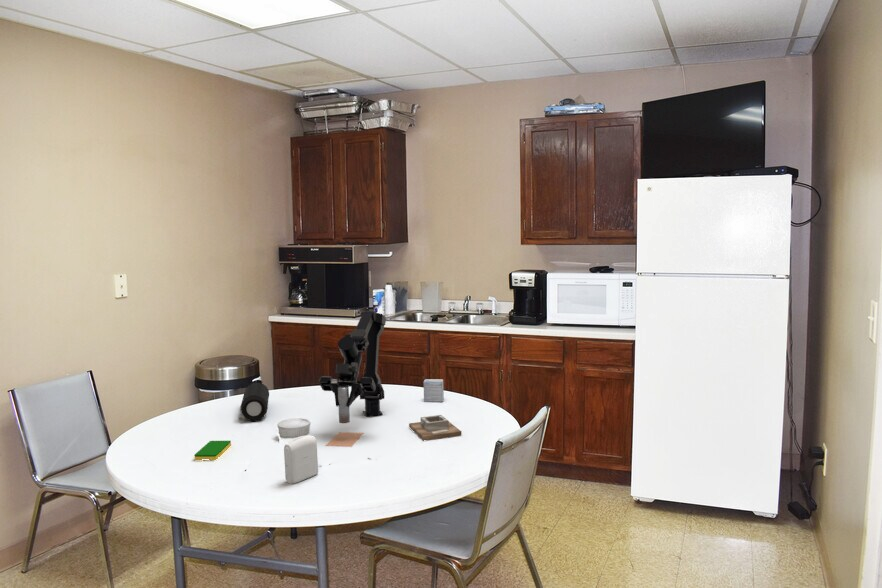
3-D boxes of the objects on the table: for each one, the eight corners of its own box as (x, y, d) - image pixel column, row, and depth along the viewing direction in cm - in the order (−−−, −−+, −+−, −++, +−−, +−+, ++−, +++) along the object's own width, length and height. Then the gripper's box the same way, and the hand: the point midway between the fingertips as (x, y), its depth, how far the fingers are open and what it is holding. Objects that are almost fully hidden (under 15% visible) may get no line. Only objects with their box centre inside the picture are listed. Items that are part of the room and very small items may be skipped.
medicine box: (443, 399, 276) (443, 379, 275) (442, 402, 272) (442, 381, 271) (425, 399, 277) (424, 379, 276) (423, 402, 272) (423, 381, 271)
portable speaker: (268, 421, 250) (266, 395, 249) (240, 424, 248) (239, 398, 247) (269, 403, 275) (268, 380, 274) (245, 405, 273) (243, 382, 272)
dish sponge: (194, 462, 210) (193, 454, 210) (210, 447, 224) (210, 440, 224) (216, 462, 210) (216, 454, 210) (231, 447, 224) (231, 440, 223)
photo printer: (292, 485, 189) (290, 443, 187) (283, 481, 191) (281, 440, 190) (320, 474, 197) (318, 434, 195) (311, 471, 199) (309, 431, 198)
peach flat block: (339, 436, 231) (339, 432, 231) (364, 437, 229) (364, 433, 229) (325, 450, 217) (325, 445, 217) (351, 451, 216) (351, 446, 216)
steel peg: (338, 420, 224) (336, 386, 222) (348, 419, 225) (347, 385, 224) (340, 423, 220) (338, 388, 219) (350, 422, 222) (349, 387, 220)
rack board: (409, 427, 239) (408, 415, 239) (445, 422, 244) (445, 410, 244) (423, 440, 224) (422, 428, 224) (461, 435, 229) (461, 422, 229)
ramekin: (317, 436, 232) (316, 421, 231) (290, 444, 224) (289, 429, 223) (298, 430, 239) (298, 415, 239) (271, 437, 231) (271, 423, 231)
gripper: (319, 353, 226) (308, 393, 216) (372, 353, 222) (363, 394, 213) (328, 370, 234) (318, 409, 225) (379, 371, 231) (371, 411, 221)
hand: (342, 406), depth 221 cm, fingers closed on steel peg, 4 cm apart
